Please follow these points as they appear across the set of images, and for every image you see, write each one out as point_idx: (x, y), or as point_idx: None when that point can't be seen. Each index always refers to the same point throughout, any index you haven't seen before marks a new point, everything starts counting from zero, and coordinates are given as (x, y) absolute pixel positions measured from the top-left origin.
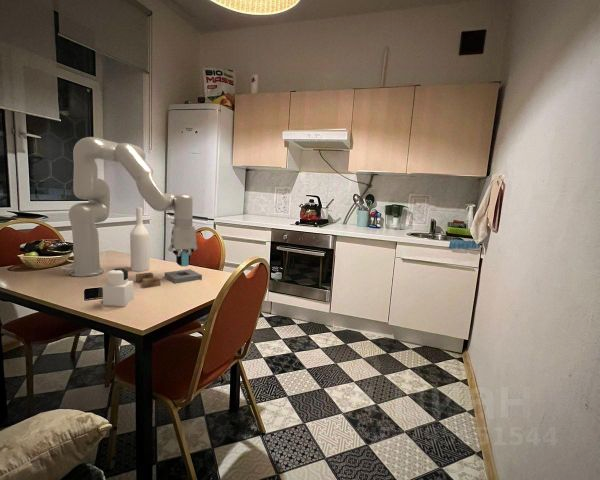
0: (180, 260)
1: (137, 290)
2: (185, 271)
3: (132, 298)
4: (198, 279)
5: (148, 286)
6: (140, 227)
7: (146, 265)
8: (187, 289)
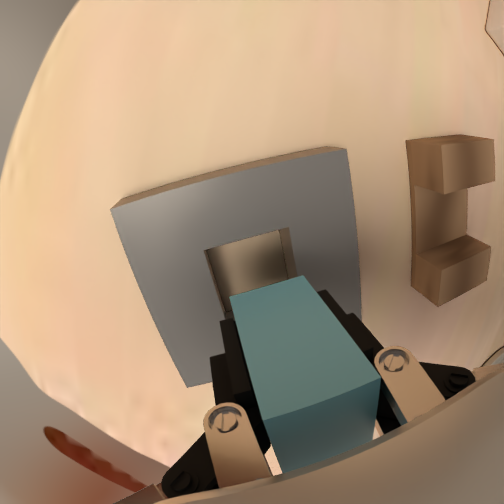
0: (344, 316)
1: (479, 133)
2: None
3: (491, 21)
4: (146, 192)
5: (458, 136)
6: None
7: (376, 437)
8: (271, 14)
